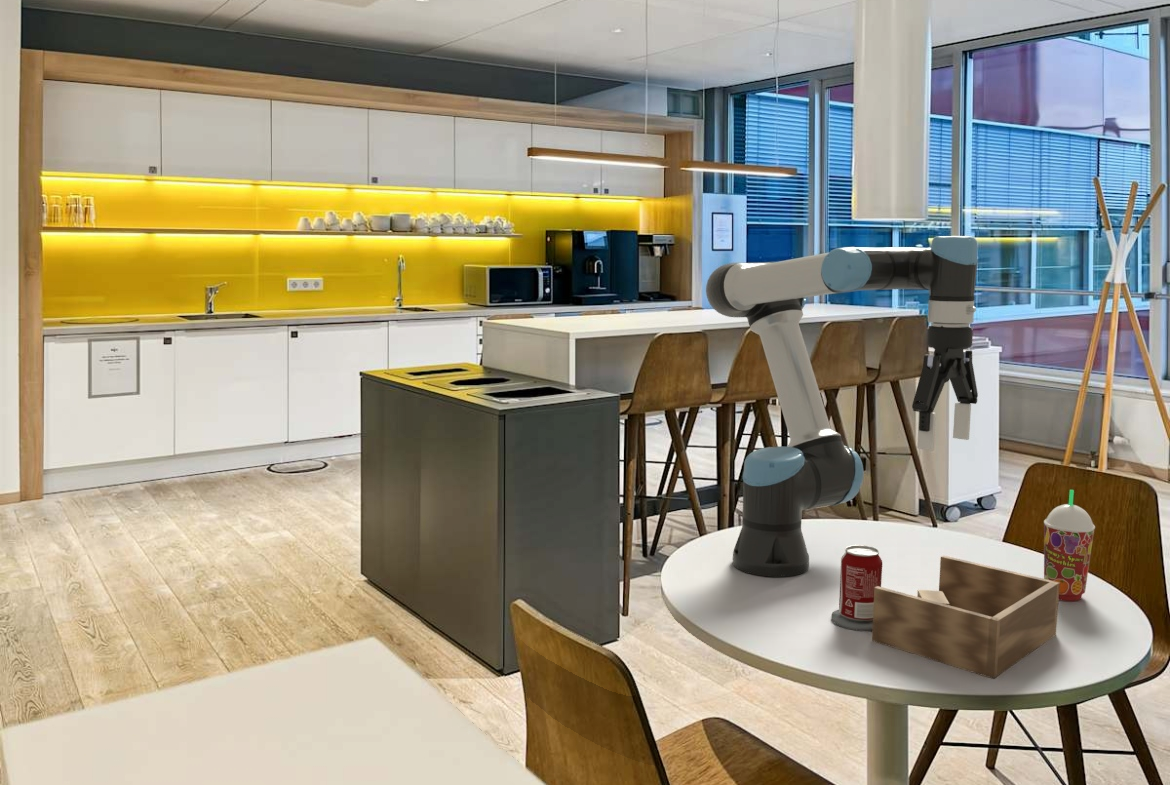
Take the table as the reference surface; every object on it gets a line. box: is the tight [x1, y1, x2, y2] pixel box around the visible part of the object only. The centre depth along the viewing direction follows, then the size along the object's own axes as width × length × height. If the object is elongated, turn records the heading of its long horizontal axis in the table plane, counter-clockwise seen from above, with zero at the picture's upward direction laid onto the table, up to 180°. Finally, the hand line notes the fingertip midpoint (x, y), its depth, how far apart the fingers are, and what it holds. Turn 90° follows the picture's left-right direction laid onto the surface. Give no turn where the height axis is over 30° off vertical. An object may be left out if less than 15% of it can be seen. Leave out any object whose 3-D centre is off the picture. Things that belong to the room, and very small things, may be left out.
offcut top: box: [916, 589, 949, 605], centre depth 165 cm, size 4×6×3 cm, turn 171°
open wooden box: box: [871, 555, 1060, 679], centre depth 161 cm, size 20×24×9 cm
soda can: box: [838, 544, 883, 623], centre depth 168 cm, size 7×7×12 cm
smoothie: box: [1043, 489, 1096, 602], centre depth 179 cm, size 8×8×20 cm
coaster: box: [830, 609, 873, 632], centre depth 169 cm, size 9×9×1 cm
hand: (943, 444), depth 175 cm, fingers open, 13 cm apart
